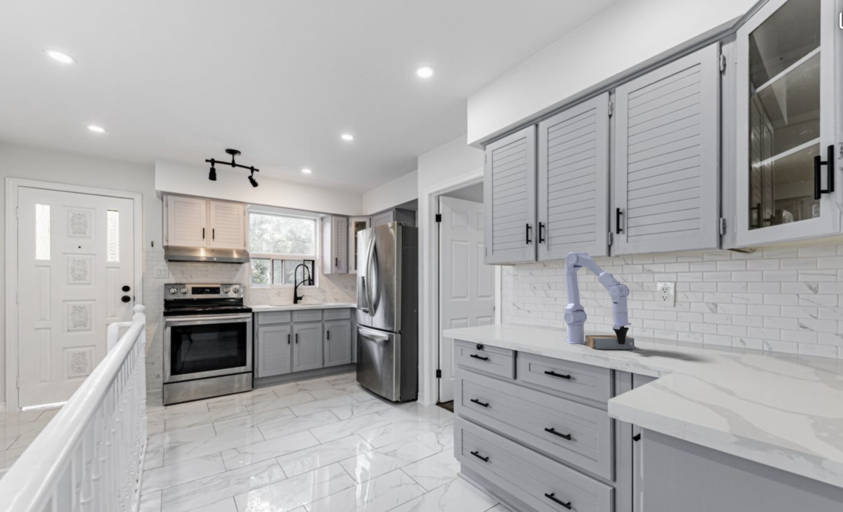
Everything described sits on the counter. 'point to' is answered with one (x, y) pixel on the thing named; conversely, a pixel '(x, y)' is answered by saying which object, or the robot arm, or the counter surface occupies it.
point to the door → (613, 343)
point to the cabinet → (590, 337)
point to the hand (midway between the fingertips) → (621, 344)
